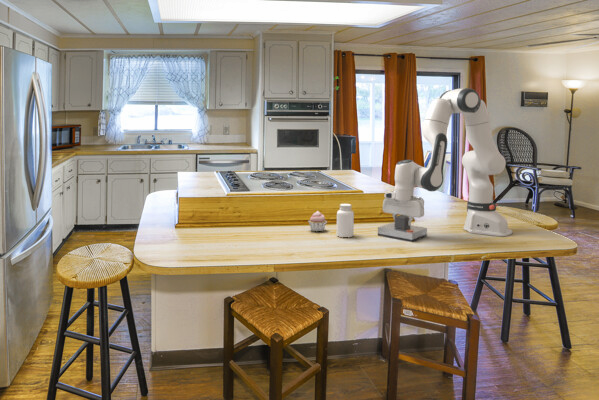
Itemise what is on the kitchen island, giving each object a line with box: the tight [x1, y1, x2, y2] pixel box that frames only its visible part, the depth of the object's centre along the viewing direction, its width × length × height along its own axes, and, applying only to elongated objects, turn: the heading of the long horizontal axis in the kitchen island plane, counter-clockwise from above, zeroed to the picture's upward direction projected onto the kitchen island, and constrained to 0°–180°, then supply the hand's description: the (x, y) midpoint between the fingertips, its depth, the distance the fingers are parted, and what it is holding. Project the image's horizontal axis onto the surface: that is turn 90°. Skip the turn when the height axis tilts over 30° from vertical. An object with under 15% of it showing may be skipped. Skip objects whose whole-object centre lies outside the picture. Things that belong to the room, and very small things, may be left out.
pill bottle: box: [336, 203, 355, 238], centre depth 227 cm, size 8×8×15 cm
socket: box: [377, 222, 428, 243], centre depth 228 cm, size 18×14×5 cm
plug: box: [394, 215, 412, 230], centre depth 227 cm, size 5×6×8 cm
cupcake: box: [307, 210, 328, 232], centre depth 237 cm, size 9×9×10 cm
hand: (402, 224), depth 227 cm, fingers closed on plug, 5 cm apart
